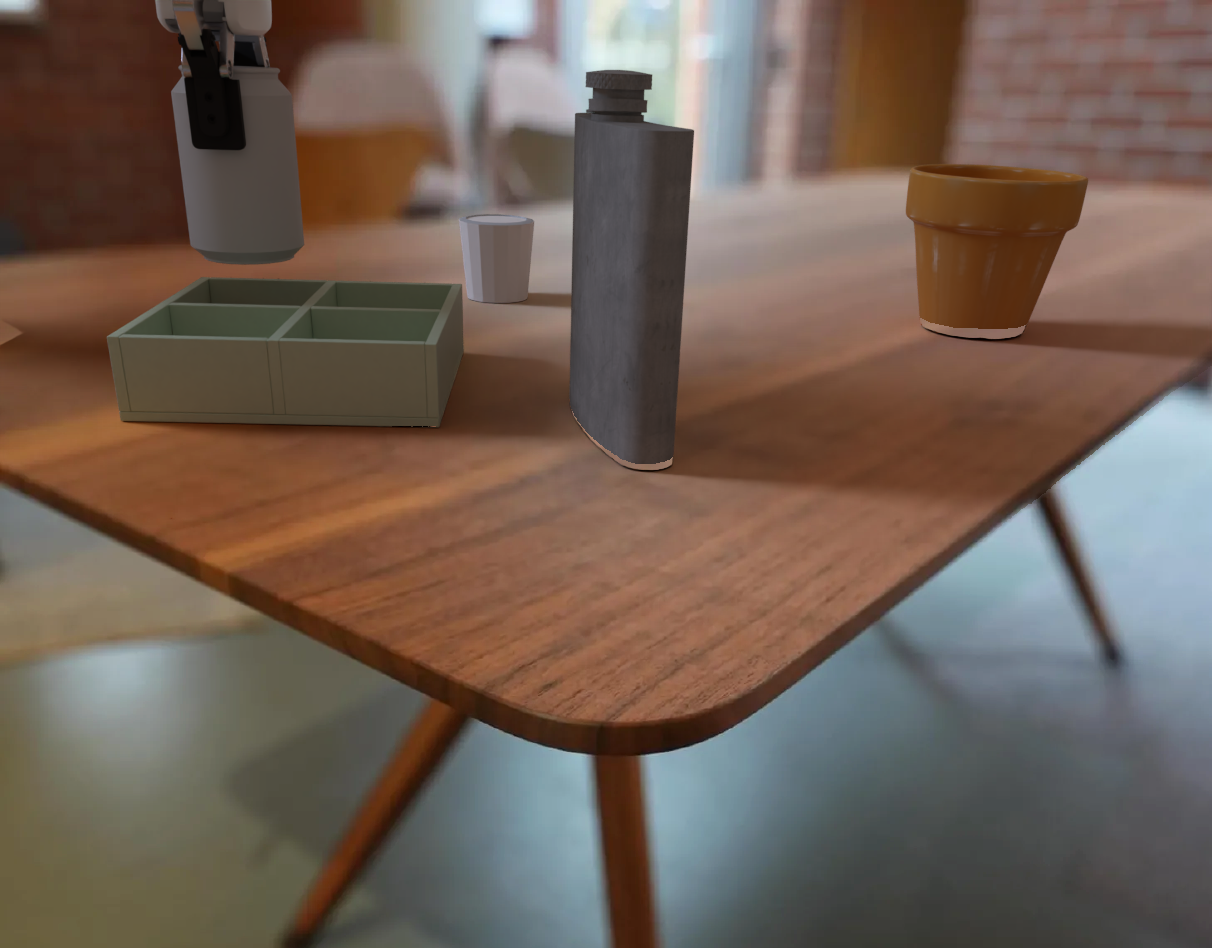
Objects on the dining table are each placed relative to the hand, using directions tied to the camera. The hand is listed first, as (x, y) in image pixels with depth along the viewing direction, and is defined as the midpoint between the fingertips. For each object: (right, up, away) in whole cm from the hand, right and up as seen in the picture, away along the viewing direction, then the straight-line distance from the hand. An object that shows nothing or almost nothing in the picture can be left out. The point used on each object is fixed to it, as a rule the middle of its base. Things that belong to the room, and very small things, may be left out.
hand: (236, 142), depth 73 cm
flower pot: (+56, -6, +25) cm, 62 cm away
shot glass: (+14, -2, +31) cm, 34 cm away
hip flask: (+25, -20, -4) cm, 32 cm away
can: (0, -7, +3) cm, 7 cm away
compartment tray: (+4, -15, +3) cm, 16 cm away
